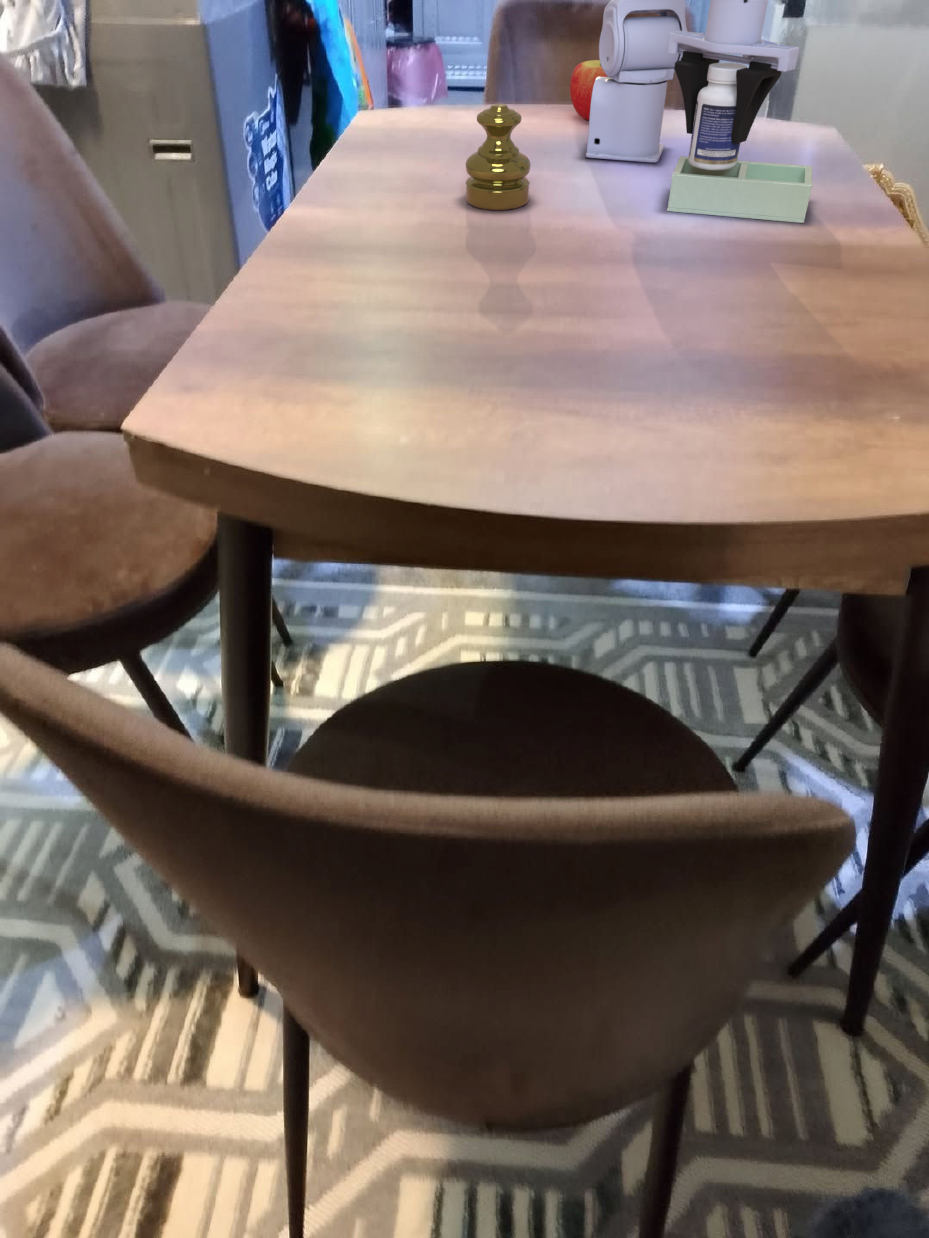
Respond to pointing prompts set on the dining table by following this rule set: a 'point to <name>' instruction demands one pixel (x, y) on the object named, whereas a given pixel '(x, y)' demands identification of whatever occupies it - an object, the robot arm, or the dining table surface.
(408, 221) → the dining table surface
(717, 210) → the holder
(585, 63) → the apple
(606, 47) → the robot arm
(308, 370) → the dining table surface
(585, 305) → the dining table surface
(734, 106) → the pill bottle
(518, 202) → the salt shaker
